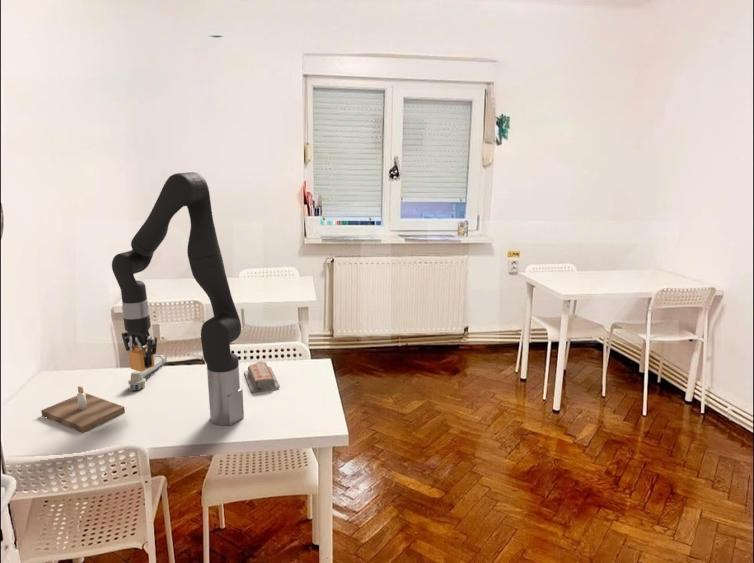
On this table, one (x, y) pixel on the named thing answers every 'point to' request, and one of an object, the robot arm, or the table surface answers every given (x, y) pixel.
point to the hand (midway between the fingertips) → (142, 365)
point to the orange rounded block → (138, 359)
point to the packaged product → (261, 377)
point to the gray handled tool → (145, 373)
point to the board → (83, 413)
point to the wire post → (81, 399)
